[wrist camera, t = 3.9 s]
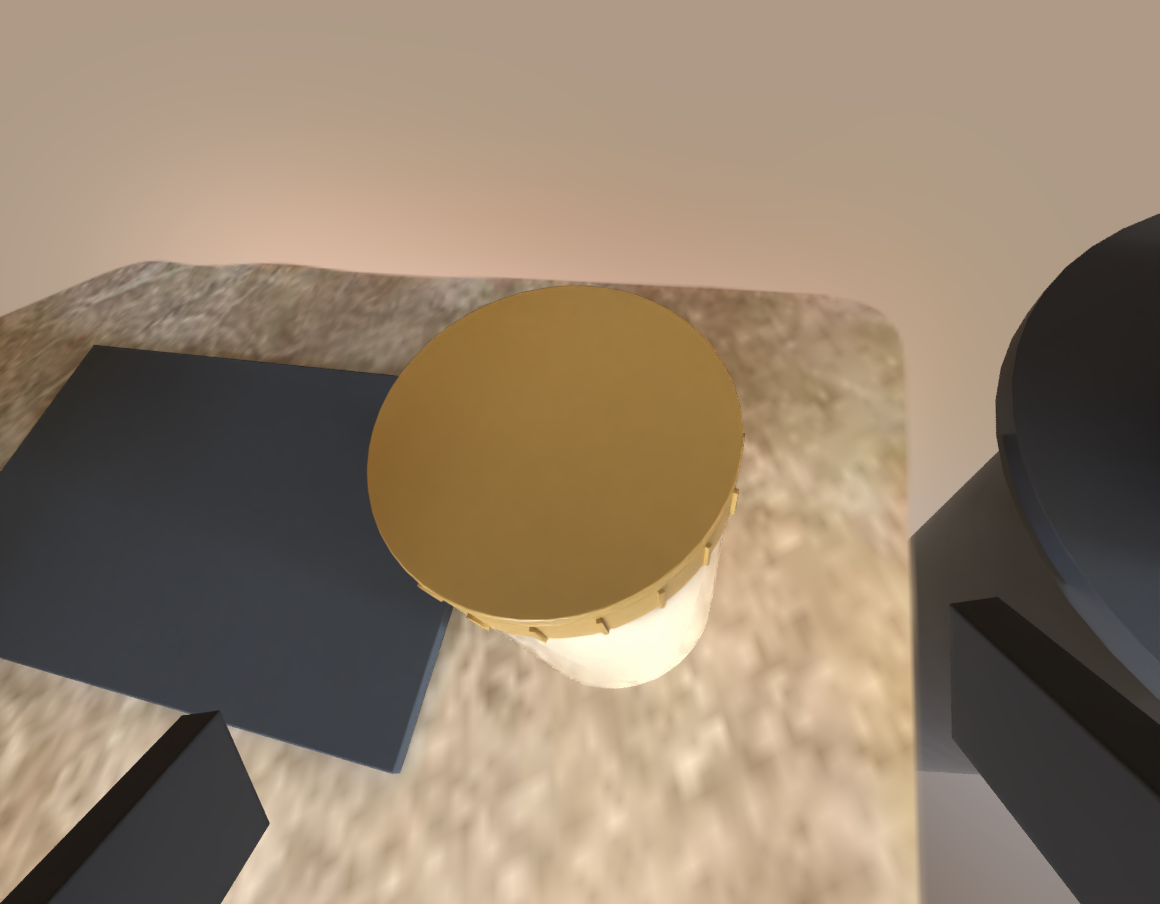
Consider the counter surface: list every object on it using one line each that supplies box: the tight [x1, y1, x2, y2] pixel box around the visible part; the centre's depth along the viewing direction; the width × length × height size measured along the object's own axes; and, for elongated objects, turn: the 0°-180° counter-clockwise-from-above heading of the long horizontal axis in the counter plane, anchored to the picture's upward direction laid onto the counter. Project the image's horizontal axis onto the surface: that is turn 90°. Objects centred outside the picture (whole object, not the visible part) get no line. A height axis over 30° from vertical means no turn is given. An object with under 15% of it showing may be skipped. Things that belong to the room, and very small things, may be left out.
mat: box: [0, 345, 453, 774], centre depth 26 cm, size 26×16×1 cm, turn 77°
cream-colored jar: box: [496, 531, 724, 688], centre depth 17 cm, size 8×8×11 cm
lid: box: [367, 286, 745, 643], centre depth 12 cm, size 8×8×2 cm
